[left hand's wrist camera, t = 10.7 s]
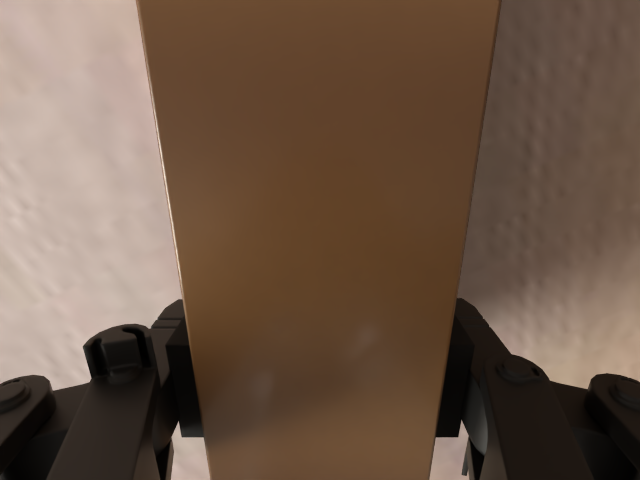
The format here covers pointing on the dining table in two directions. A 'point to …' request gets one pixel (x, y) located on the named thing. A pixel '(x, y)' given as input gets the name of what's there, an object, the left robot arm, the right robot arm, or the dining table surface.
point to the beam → (319, 219)
